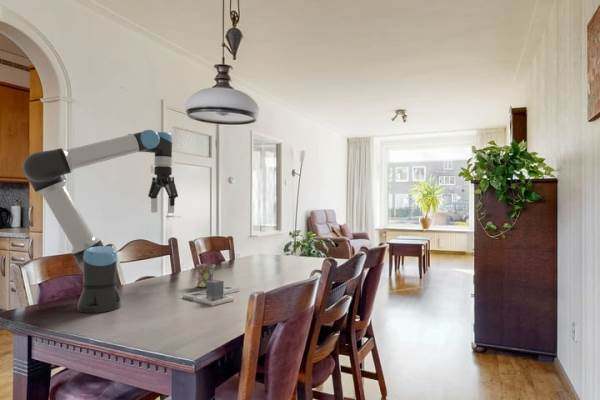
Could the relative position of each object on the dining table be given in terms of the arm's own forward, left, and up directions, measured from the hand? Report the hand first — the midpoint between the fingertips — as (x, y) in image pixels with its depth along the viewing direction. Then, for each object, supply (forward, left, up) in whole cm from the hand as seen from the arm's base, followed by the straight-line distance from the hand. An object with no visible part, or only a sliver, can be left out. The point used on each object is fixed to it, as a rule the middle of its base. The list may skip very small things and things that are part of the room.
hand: (162, 212), depth 183 cm
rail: (+14, -19, -37) cm, 44 cm away
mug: (+22, -2, -37) cm, 43 cm away
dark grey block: (+7, -29, -36) cm, 47 cm away
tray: (+7, -30, -37) cm, 48 cm away
